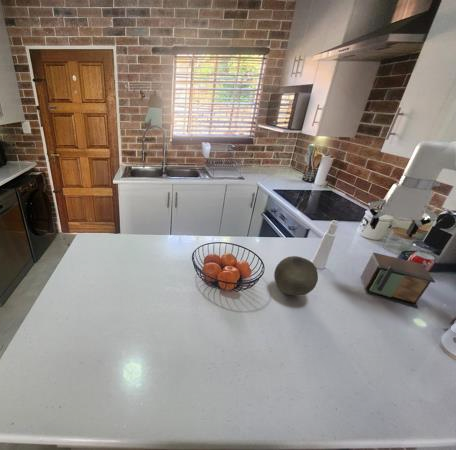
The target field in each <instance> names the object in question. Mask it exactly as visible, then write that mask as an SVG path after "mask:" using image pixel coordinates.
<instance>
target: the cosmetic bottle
mask: <svg viewBox="0 0 456 450" xmlns="http://www.w3.org/2000/svg"><path fill="white" fill-rule="evenodd" d="M339 223H340V222H339V220H335V219H333V220H331V222H330V224H329V226H328V229H327V231H325V233H324V235H323V237H322V239H321V241H320V243H319V246H318V248H317V250H316V252H315V254H314V255H313V257H312V259H311V260H310V261H311V262H312V263H313V264H314V265H315V267H316V269H319V270H324V269H326V268H327V262H328V259H329V255H330V253H331V249H332V248H333V245H334V242H335V239H336V232H337V229H338V227H339Z"/></svg>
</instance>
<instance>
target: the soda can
mask: <svg viewBox="0 0 456 450" xmlns="http://www.w3.org/2000/svg"><path fill="white" fill-rule="evenodd" d="M435 259H436V258H435V257H434V255H432V254H430V253H427V252H424V251H414V253H412V254H410V256H409V257H408V259H406V260H407V261H412V262H416V263H420V264H423V265H424V267H425V268H426V270H427V271H428V272H429V273H430V271H431V270H432V268H433V267H434V265H435Z"/></svg>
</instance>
